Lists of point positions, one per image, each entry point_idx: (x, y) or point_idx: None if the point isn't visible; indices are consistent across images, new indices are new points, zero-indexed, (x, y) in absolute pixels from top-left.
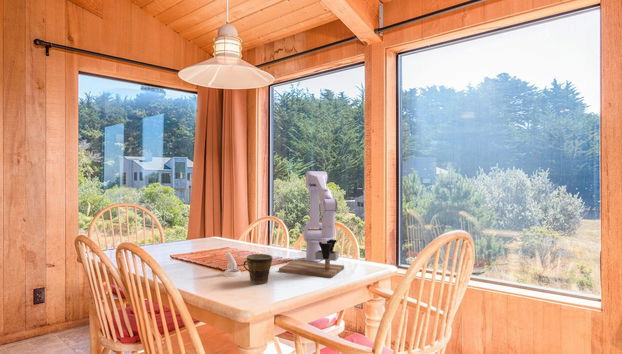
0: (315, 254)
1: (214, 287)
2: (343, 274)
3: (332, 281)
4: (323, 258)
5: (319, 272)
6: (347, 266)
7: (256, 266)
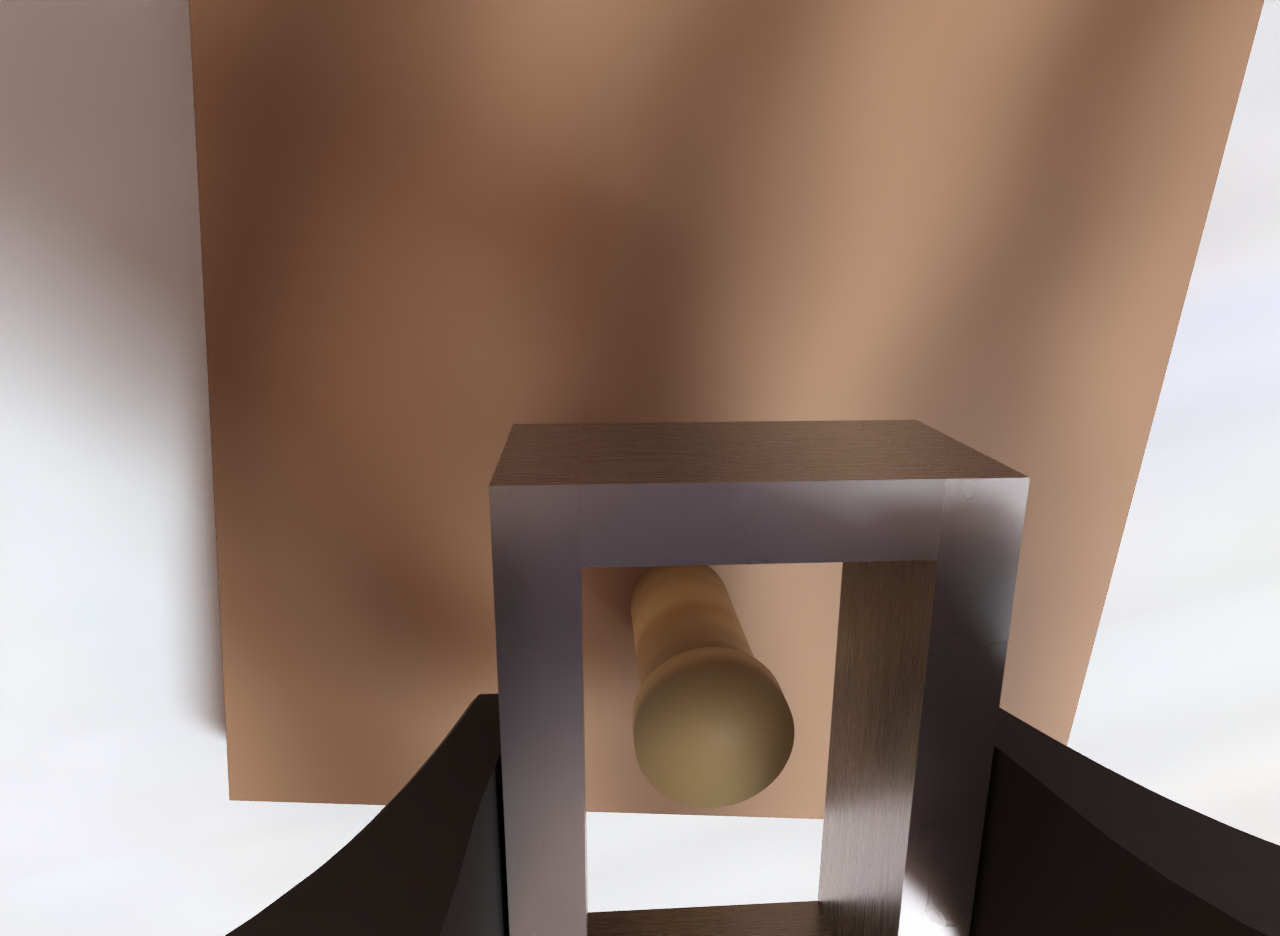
0: (497, 469)
1: None
2: (599, 862)
3: (40, 821)
4: (469, 706)
5: (254, 553)
6: (1213, 791)
7: None
